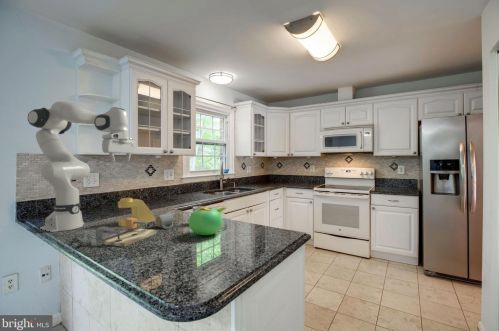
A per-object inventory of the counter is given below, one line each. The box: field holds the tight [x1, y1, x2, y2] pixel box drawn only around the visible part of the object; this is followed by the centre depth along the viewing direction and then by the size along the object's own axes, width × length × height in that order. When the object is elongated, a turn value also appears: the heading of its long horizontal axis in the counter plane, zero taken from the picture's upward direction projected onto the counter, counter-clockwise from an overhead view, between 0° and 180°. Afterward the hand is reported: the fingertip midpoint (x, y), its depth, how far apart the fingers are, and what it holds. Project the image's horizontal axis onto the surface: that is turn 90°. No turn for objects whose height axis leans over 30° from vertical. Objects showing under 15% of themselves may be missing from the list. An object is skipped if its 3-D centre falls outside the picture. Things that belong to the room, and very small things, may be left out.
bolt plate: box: [103, 228, 158, 248], centre depth 122 cm, size 12×22×2 cm, turn 163°
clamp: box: [117, 197, 156, 227], centre depth 154 cm, size 20×9×16 cm, turn 137°
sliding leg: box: [125, 218, 148, 229], centre depth 132 cm, size 12×4×5 cm, turn 73°
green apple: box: [188, 206, 227, 236], centre depth 128 cm, size 18×17×15 cm
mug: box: [190, 205, 208, 215], centre depth 149 cm, size 11×8×10 cm
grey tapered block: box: [90, 226, 139, 247], centre depth 123 cm, size 12×26×7 cm, turn 163°
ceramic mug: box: [155, 212, 175, 230], centre depth 143 cm, size 11×8×8 cm
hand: (120, 161), depth 136 cm, fingers open, 8 cm apart
